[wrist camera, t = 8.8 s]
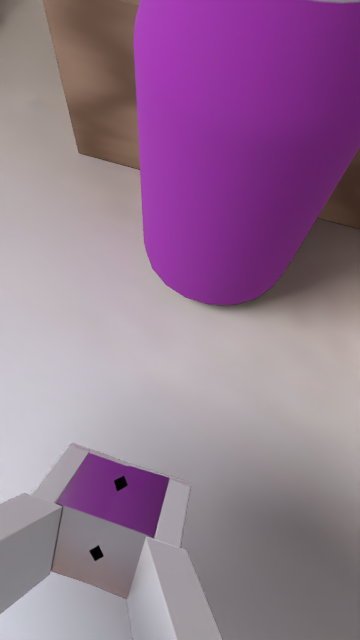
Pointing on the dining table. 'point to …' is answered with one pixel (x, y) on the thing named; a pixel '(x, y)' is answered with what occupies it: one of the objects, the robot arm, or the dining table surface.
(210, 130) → the beverage can
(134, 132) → the board
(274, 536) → the dining table surface
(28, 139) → the dining table surface
